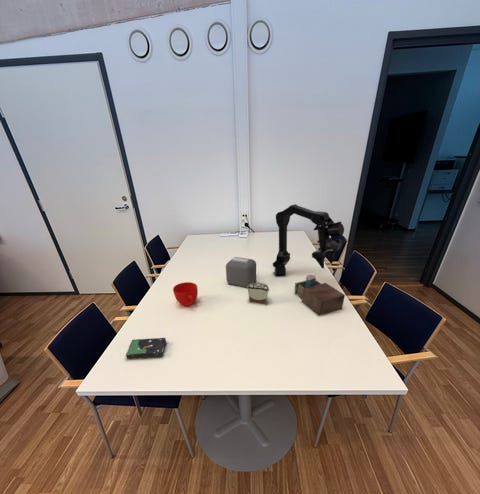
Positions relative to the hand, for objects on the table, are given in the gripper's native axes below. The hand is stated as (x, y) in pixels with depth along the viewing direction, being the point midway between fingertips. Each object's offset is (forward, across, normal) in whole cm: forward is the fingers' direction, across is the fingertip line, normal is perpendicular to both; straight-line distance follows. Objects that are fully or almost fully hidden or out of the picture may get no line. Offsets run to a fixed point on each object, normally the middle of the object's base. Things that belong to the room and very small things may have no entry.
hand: (327, 265), depth 148 cm
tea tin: (+12, -13, +6) cm, 18 cm away
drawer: (+13, -13, +5) cm, 19 cm away
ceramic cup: (+1, -64, +48) cm, 80 cm away
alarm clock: (+2, -26, +45) cm, 52 cm away
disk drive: (+6, -100, +31) cm, 105 cm away
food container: (+9, -35, +23) cm, 43 cm away
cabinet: (+17, -17, -4) cm, 24 cm away
